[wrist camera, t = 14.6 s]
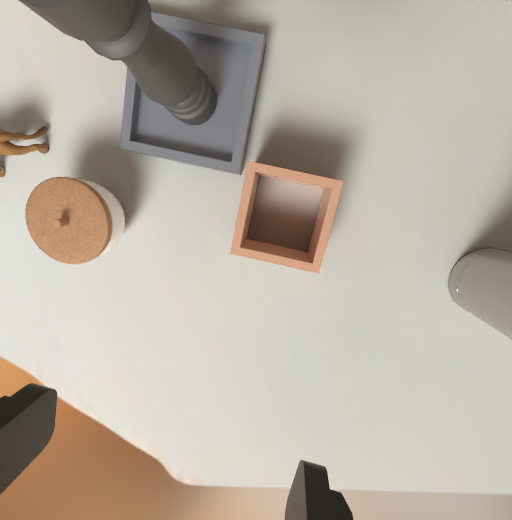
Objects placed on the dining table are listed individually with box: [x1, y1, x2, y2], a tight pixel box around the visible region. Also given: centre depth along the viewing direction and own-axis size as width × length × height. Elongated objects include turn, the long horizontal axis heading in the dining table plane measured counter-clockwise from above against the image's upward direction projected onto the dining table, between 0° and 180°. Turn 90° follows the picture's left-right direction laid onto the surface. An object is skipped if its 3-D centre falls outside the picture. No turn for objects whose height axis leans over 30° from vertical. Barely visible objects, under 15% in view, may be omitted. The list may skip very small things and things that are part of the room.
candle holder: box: [19, 0, 217, 125], centre depth 26 cm, size 6×6×25 cm
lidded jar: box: [25, 177, 125, 264], centre depth 39 cm, size 11×11×9 cm
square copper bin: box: [230, 161, 344, 273], centre depth 38 cm, size 11×11×7 cm
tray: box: [120, 12, 266, 175], centre depth 38 cm, size 16×16×2 cm
